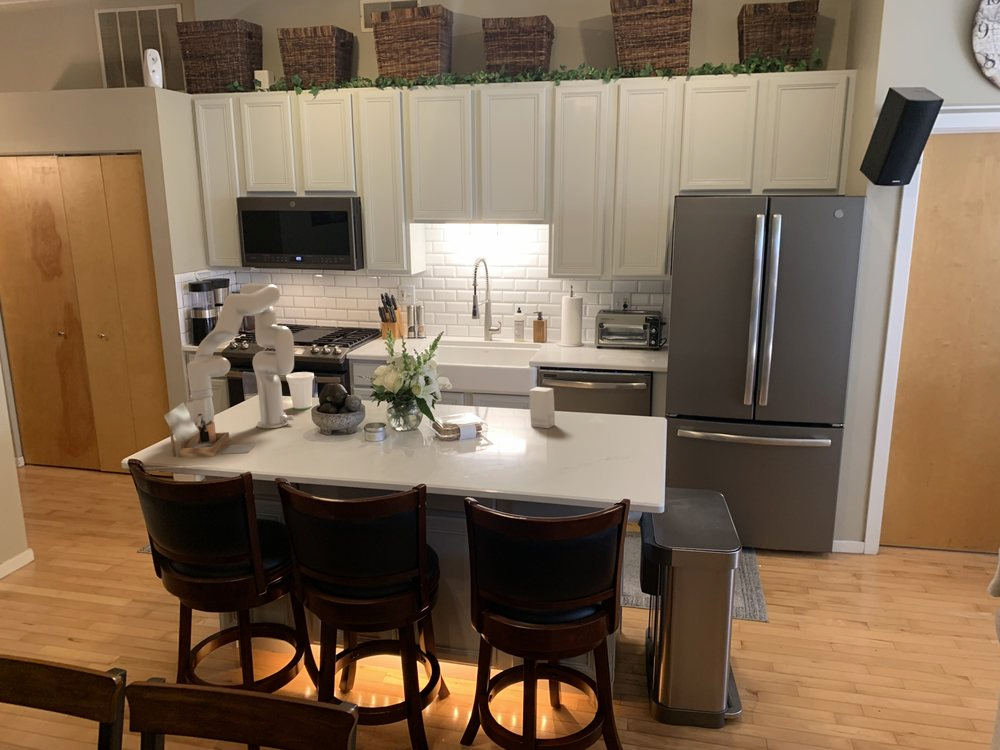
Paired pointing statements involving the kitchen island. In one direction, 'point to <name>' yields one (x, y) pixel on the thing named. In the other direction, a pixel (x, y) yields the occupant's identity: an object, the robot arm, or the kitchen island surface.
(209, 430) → the pot
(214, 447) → the box
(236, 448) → the slate tile
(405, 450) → the kitchen island surface
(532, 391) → the skincare box
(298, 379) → the cup
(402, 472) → the kitchen island surface
